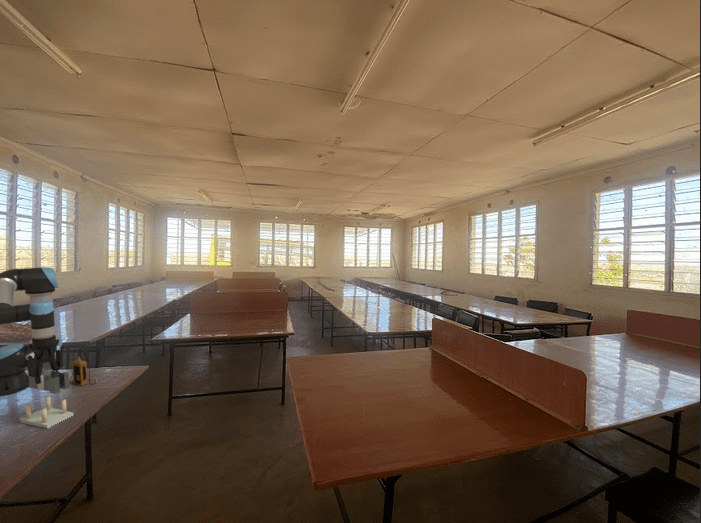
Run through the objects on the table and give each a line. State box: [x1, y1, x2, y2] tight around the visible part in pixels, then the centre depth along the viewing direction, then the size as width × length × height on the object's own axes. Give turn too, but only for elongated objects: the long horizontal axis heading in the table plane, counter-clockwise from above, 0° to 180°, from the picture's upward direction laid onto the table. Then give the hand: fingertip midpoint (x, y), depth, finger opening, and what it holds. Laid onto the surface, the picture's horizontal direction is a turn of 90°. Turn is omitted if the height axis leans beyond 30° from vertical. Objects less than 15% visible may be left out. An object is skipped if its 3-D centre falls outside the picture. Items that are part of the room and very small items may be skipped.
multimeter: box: [69, 349, 98, 387], centre depth 174 cm, size 15×10×20 cm
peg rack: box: [19, 396, 74, 430], centre depth 139 cm, size 17×10×8 cm, turn 76°
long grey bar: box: [27, 368, 71, 395], centre depth 138 cm, size 17×6×7 cm, turn 76°
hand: (47, 387), depth 138 cm, fingers closed on long grey bar, 4 cm apart
